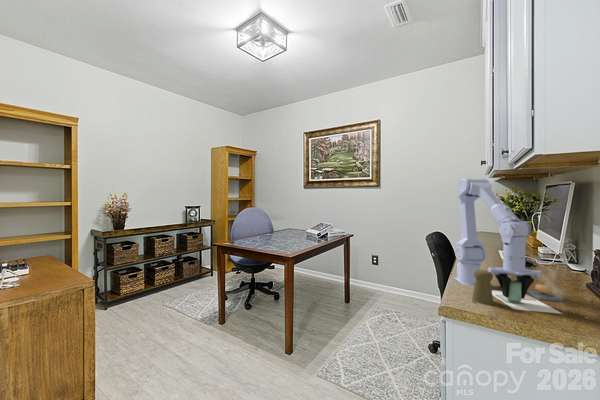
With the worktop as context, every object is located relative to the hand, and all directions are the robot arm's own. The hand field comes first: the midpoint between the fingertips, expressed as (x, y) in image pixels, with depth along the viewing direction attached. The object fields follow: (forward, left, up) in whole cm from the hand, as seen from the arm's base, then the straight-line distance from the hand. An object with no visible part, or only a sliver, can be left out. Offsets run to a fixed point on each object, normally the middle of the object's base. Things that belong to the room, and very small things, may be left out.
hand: (513, 296), depth 86 cm
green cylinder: (0, 0, -2) cm, 2 cm away
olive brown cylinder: (+2, -10, -2) cm, 10 cm away
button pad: (-8, +14, -2) cm, 16 cm away
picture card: (-2, +3, -2) cm, 4 cm away
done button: (-8, +14, 0) cm, 16 cm away
